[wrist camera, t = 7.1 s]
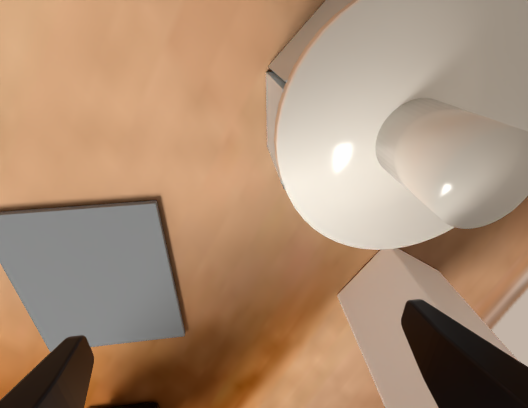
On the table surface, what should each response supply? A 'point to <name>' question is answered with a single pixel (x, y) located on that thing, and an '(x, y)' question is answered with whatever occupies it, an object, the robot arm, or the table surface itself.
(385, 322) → the milk
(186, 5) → the table surface
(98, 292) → the mat
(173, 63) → the table surface
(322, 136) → the lid
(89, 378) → the robot arm
